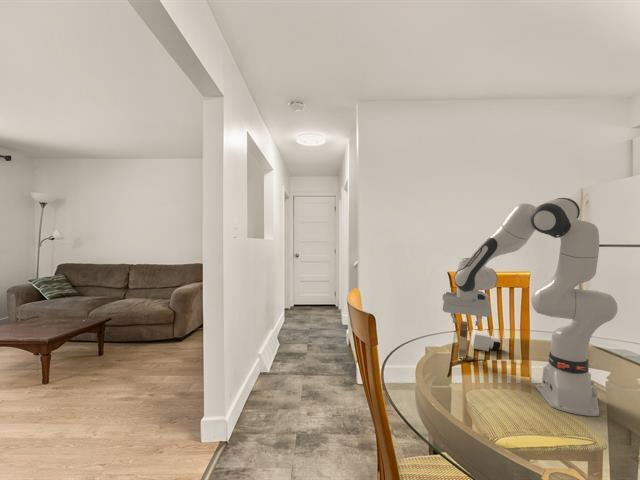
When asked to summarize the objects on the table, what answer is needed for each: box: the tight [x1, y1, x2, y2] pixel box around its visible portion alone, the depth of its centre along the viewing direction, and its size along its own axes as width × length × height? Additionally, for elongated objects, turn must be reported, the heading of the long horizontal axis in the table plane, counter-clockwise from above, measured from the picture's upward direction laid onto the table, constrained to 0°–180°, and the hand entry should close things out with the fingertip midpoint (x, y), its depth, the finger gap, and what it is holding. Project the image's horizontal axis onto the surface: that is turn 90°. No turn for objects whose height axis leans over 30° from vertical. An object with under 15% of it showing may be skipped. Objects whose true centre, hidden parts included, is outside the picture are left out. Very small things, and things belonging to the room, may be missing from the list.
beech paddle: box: [458, 320, 469, 359], centre depth 168 cm, size 6×3×16 cm, turn 157°
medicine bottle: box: [470, 329, 501, 352], centre depth 178 cm, size 7×7×12 cm
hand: (465, 324), depth 167 cm, fingers open, 8 cm apart
